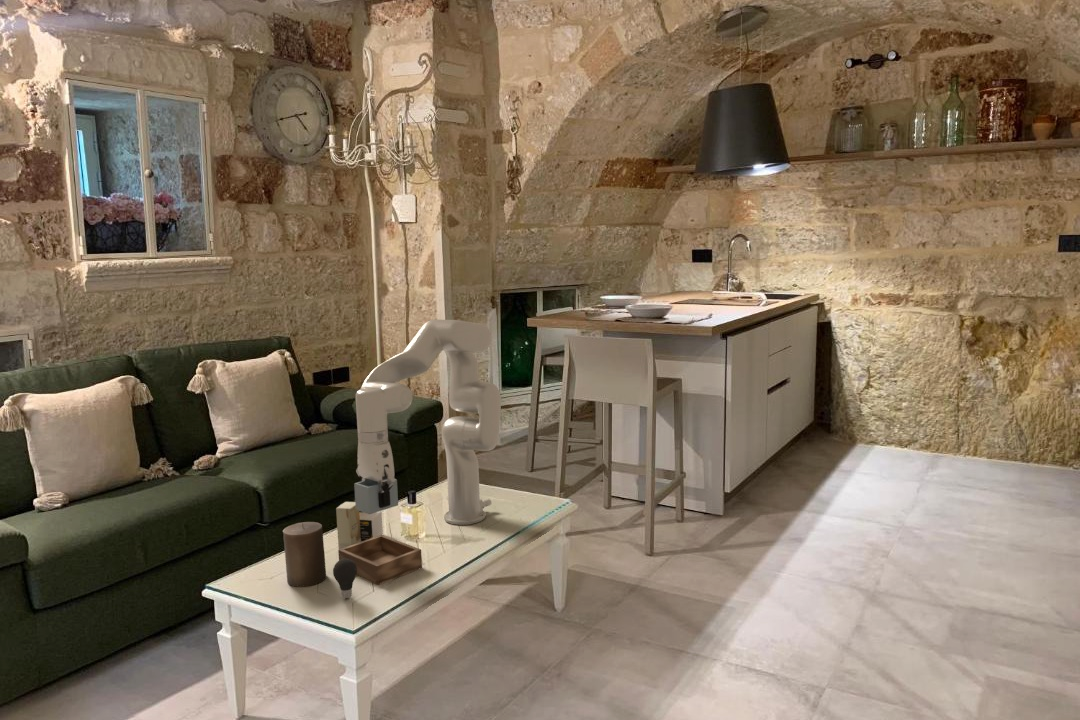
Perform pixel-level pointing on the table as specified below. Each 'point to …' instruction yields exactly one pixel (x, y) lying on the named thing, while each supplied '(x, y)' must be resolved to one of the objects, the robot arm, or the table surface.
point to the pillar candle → (304, 554)
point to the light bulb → (345, 576)
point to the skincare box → (348, 525)
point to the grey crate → (372, 496)
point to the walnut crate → (382, 558)
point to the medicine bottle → (370, 525)
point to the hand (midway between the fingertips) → (376, 503)
